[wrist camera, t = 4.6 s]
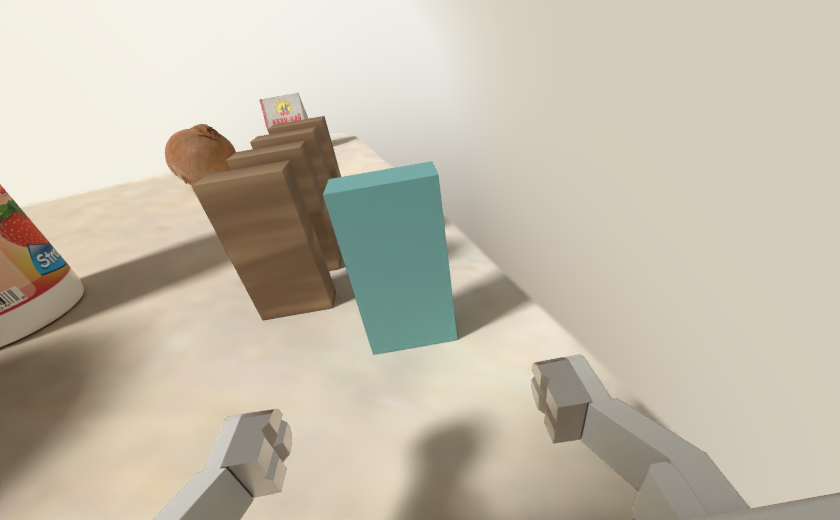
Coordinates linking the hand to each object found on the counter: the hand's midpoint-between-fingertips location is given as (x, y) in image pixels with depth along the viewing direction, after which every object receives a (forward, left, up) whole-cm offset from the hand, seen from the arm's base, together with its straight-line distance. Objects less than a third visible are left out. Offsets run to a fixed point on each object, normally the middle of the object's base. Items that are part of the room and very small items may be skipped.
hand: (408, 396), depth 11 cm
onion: (+49, +29, -6) cm, 57 cm away
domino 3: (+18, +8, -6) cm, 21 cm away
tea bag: (+61, +18, -6) cm, 64 cm away
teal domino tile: (+8, 0, -6) cm, 10 cm away
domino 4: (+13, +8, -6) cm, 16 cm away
